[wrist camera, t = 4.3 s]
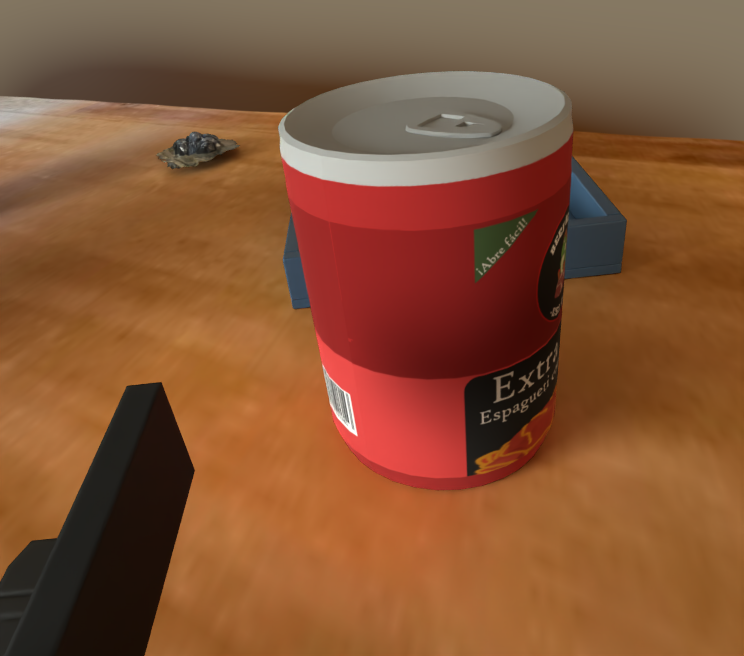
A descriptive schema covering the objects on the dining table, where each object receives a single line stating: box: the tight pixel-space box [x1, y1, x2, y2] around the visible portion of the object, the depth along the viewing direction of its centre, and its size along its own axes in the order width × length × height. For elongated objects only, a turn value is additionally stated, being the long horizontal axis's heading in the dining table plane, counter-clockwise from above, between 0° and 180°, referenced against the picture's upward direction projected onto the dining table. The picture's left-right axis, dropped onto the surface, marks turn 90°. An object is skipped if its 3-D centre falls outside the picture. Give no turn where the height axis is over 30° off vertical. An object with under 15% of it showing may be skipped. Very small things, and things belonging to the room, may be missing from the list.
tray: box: [283, 156, 627, 309], centre depth 36 cm, size 16×15×3 cm
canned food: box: [278, 71, 573, 490], centre depth 20 cm, size 8×8×11 cm
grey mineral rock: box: [157, 132, 240, 169], centre depth 51 cm, size 7×8×2 cm
